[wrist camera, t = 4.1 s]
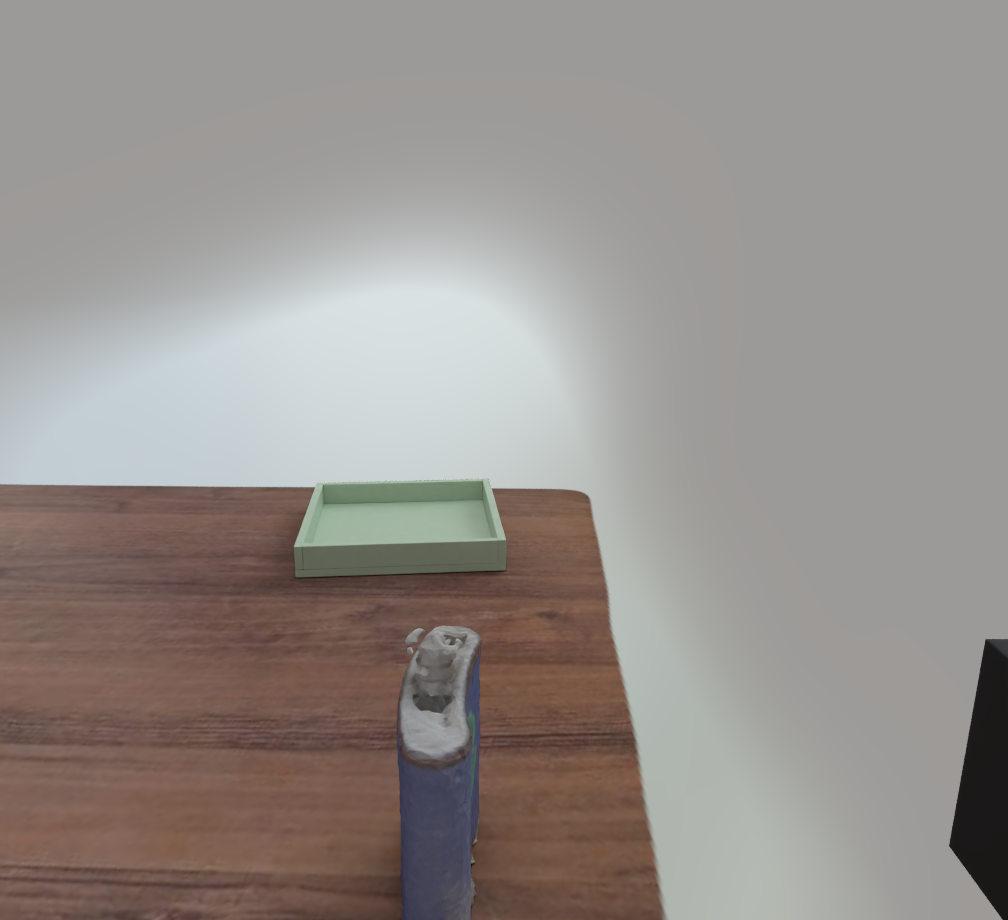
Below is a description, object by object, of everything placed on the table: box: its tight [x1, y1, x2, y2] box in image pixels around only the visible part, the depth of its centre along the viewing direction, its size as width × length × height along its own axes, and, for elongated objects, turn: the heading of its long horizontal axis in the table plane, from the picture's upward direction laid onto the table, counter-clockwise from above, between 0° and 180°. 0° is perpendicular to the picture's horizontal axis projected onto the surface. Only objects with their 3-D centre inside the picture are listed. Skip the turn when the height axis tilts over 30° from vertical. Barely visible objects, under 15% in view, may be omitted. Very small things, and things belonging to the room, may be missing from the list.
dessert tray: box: [294, 479, 506, 578], centre depth 70 cm, size 15×15×2 cm
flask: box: [397, 626, 482, 920], centre depth 32 cm, size 9×3×11 cm, turn 179°
